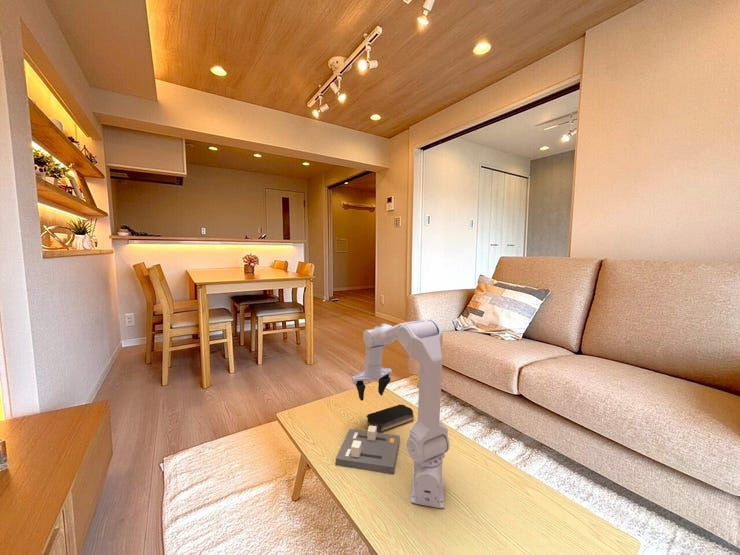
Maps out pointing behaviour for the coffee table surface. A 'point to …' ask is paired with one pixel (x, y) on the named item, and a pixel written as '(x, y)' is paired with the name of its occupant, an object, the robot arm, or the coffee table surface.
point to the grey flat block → (370, 452)
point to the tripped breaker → (372, 433)
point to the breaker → (356, 448)
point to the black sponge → (390, 417)
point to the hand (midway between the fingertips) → (370, 396)
